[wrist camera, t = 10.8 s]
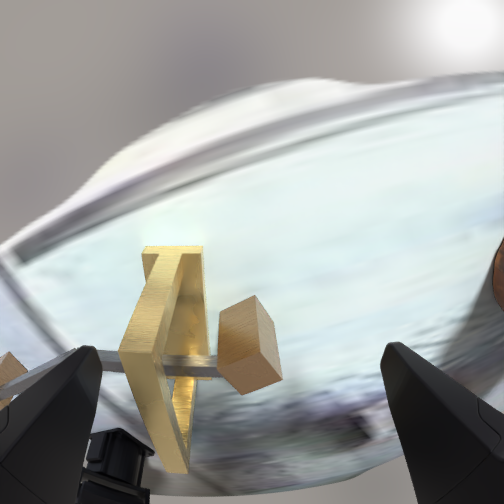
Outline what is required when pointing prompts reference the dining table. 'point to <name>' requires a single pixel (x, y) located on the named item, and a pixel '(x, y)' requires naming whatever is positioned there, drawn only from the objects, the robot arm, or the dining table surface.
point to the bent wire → (188, 356)
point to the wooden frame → (167, 347)
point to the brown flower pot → (499, 277)
